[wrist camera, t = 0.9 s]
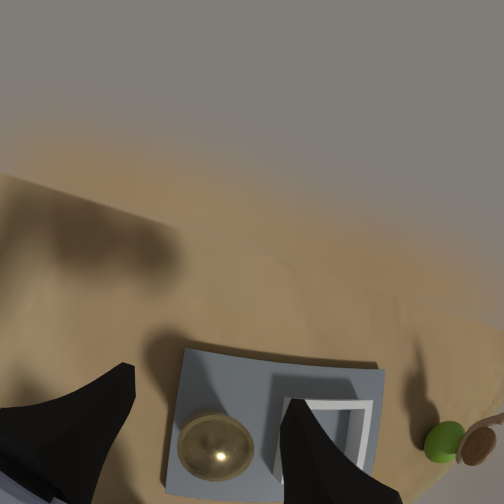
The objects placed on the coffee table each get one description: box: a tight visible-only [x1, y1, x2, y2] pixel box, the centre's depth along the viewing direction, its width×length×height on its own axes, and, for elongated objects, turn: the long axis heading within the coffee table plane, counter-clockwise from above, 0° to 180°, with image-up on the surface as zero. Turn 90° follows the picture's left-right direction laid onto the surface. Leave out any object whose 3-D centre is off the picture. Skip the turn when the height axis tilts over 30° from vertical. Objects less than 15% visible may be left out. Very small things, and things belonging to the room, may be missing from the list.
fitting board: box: [165, 348, 385, 502], centre depth 21 cm, size 14×20×4 cm
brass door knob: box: [177, 408, 254, 482], centre depth 18 cm, size 5×5×6 cm
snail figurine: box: [424, 413, 504, 466], centre depth 19 cm, size 5×6×12 cm
